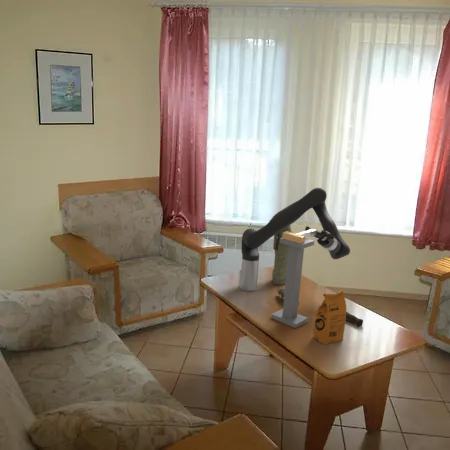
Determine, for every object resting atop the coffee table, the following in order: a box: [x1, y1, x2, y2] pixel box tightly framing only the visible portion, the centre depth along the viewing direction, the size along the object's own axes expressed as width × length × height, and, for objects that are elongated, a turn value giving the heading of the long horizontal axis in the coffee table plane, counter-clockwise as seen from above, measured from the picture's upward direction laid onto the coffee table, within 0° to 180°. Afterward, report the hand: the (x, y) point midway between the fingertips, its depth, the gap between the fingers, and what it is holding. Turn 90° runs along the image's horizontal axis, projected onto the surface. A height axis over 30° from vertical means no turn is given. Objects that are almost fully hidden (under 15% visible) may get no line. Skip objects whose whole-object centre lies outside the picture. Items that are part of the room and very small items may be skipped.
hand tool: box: [346, 311, 364, 328], centre depth 225 cm, size 19×4×5 cm, turn 30°
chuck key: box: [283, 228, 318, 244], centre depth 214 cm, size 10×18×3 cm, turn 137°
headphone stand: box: [270, 238, 315, 329], centre depth 216 cm, size 14×10×40 cm
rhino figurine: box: [277, 287, 285, 301], centre depth 243 cm, size 4×14×6 cm, turn 22°
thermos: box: [271, 225, 294, 286], centre depth 263 cm, size 9×12×35 cm
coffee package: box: [312, 289, 347, 345], centre depth 203 cm, size 10×12×22 cm
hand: (314, 230), depth 220 cm, fingers open, 8 cm apart
